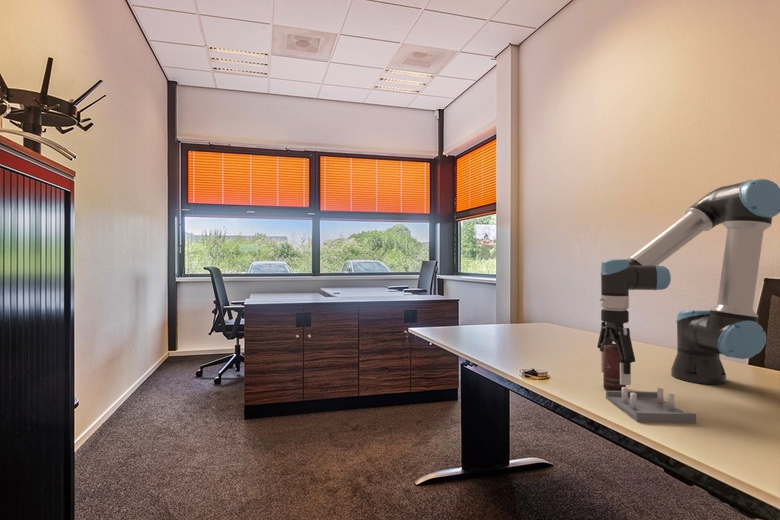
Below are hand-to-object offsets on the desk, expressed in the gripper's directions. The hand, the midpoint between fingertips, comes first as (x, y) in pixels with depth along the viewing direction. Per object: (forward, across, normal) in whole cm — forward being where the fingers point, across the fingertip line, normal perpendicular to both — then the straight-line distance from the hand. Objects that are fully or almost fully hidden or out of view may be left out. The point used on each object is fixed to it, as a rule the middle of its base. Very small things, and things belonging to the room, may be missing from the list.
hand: (614, 378), depth 130 cm
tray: (+4, +17, +1) cm, 17 cm away
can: (+4, 0, 0) cm, 4 cm away
